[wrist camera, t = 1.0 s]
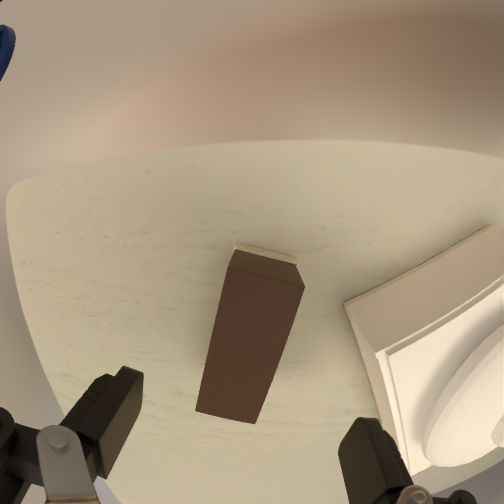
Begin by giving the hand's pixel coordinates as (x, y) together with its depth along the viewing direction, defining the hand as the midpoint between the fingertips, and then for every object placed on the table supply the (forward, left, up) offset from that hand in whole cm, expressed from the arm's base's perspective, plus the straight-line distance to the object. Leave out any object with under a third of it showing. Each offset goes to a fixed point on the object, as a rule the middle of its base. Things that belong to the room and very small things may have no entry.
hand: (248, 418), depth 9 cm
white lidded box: (+1, +20, -15) cm, 25 cm away
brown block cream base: (+3, 0, -15) cm, 15 cm away
